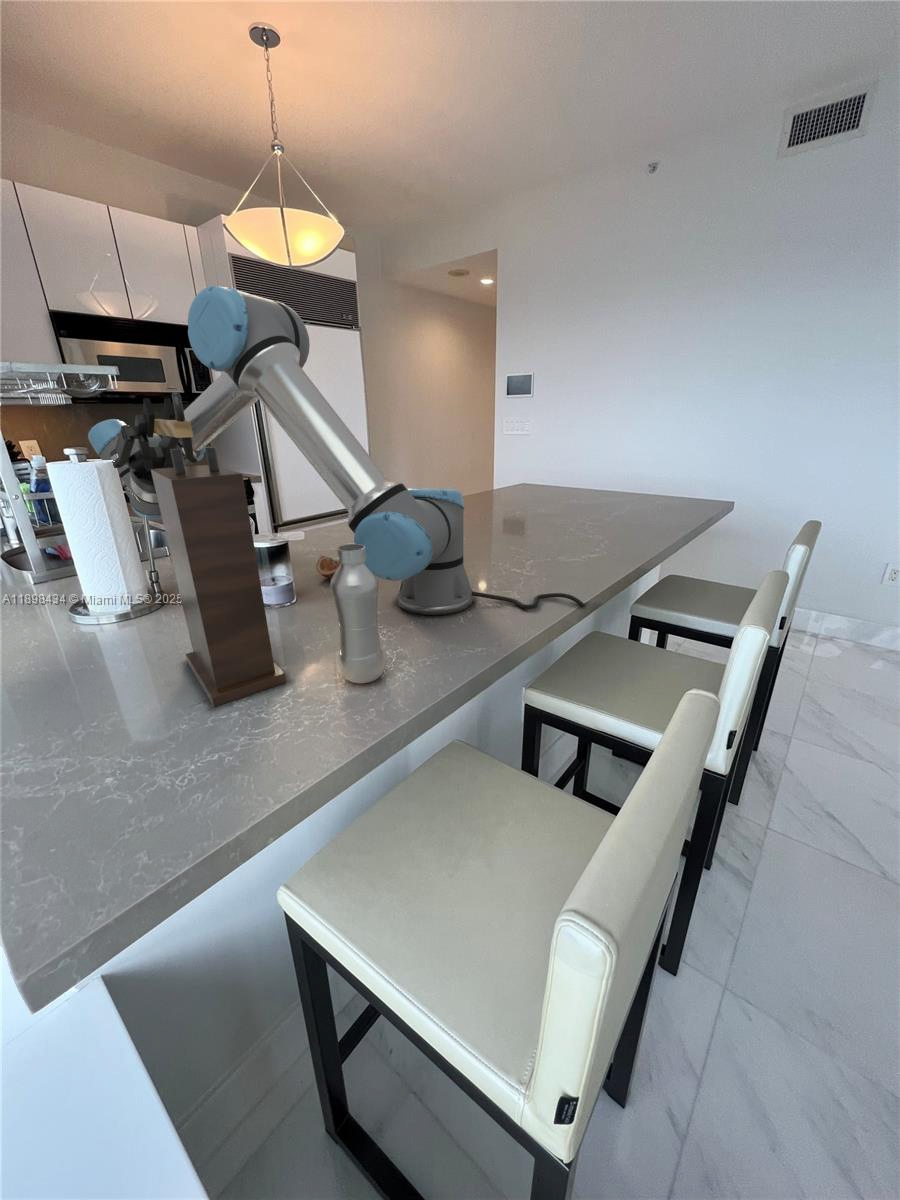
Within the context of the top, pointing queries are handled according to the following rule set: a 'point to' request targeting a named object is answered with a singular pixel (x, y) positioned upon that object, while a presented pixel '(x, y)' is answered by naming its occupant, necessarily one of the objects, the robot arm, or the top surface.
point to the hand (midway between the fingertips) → (159, 407)
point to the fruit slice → (327, 566)
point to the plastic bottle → (357, 616)
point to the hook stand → (217, 577)
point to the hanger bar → (174, 422)
